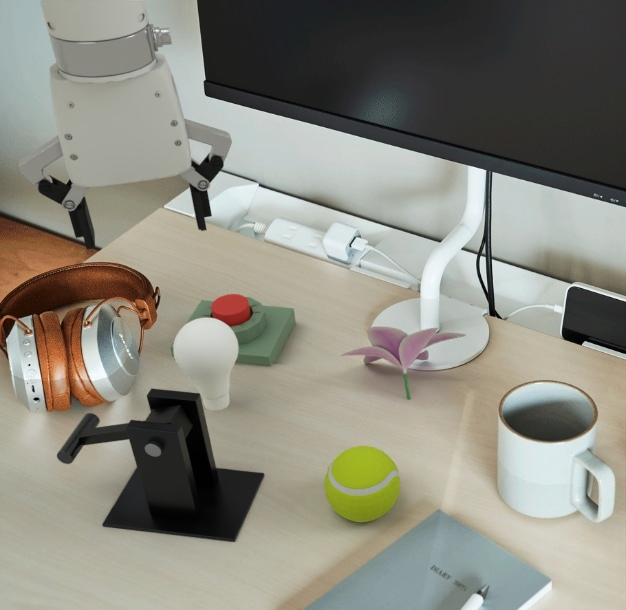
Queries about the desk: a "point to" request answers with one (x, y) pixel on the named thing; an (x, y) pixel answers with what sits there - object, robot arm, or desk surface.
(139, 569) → the desk surface
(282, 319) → the button box
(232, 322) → the button
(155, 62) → the robot arm
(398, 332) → the lily
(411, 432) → the desk surface
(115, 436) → the switch lever
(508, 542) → the desk surface
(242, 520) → the switch bracket
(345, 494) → the tennis ball
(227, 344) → the lightbulb
